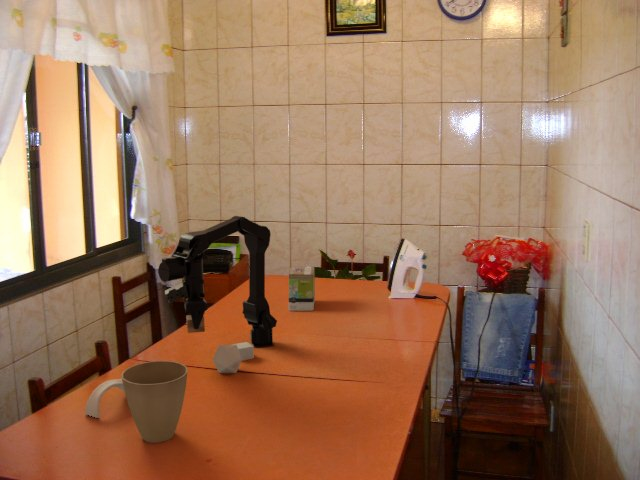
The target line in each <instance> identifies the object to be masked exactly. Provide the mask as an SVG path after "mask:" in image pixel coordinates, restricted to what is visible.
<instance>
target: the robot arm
mask: <svg viewBox="0 0 640 480" xmlns="http://www.w3.org/2000/svg"><path fill="white" fill-rule="evenodd" d="M237 232H238V233H239V234H240V235H242V236H243V239H244V245H245V246H246V248H247V251H248V252H249V254H248V256H249V260H248V261H249V262H248V263H249V265H248V266H249V268H248V269H249V275H248V278H249V279H248V281H249V283H248V284H249V285H248V286H249V287H248V288H249V291H248V293H249V295H248V298H247V300H246V301H245V300H244V301H243V302H242V314H243V317H244V319H245V320H246V321H247V324H248V325H249V326H251V329H250V331H249V332H250V344H251V345H252V346H253V347H254V348H260V347H270V346H271V347H272V346H274V342H273V329H274V328H275V327H277V322H278V320H277V319H276V318H275V317H274V316H273V315H272V314H271V310H270V305H269V302H268V300H267V298H266V296H265V292H266V290H265V287H266V286H265V284H266V282H265V281H266V275H265V274H266V273H265V272H266V255H265V254H266V252H267V249H268V248H269V246H270V243H271V242H270V241H271V236H272V235H271V230H270V228H269V227H268V226H265V225H260V224H258V223H256V222H254V221H252V220H250V219H248V218H247V217H245V216H239V215H234V216H231V218H229V219H226V220H225V221H222V222H220V223H218V224H214V225H213V226H210V227H208V228H206V229H204V230H197V231H189V232H185V233H183V234H181V235H180V237H179V240H178V243H177V245H176V246H175V249H174V250H173V251H172V252H173V253H172V254H171V256H170V257H162V258H161V263H160V264H159V265H158V268H157V273H158V276H159V279H160V280H161V281H162V282H163V283H167V282H172V281H177V280H182V283H180V284H177V285H174V286H171V287H170V288H168V289H166V290H164V295H165V297H166V300H167V301H168V302H167V303H169V304H172V303H174V302H175V301H177V300H180V299H181V298H183V303H184V309H185V312H186V313H189V315H191V317H192V321H193V325H194V329H198V328H199V326H200V323H201V320H202V318H203V316H204V315H205V312H206V311H207V310H208V302H207V299H205V288H204V287H205V286H204V284H205V279H204V264H203V261H206V260H209V258H210V257H209V256H208V255H207V254H206V253H205V251H207V250H209V248H210V246H211V245H212V244H214V243H215V242H218V241H220V240H222V239H224V238H226V237H228V236H230V235H233V234H235V233H237Z"/></svg>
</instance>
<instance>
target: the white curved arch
mask: <svg viewBox="0 0 640 480" xmlns="http://www.w3.org/2000/svg"><path fill="white" fill-rule="evenodd" d="M112 388H118V389H119V390H121V391H122V392H123V393H125V390H124V386H123V381H122V378H118V379H117V378H116V379H108V380H106V381H104V382H102V383H101V384H99V385H98V386H97V387H96V388H95V389H93V391H92V392H91V393H90V395H89V397H88V399H87V402H86V405H85V409H84V414H85V416H88V415H89V417H91V416H92V417H91V418H94V417H95V419H99V418H100V403H101V399H102V397H103V396H104V394H105V393H106V392H108V391H109V390H111V389H112Z"/></svg>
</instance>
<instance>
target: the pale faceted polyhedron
mask: <svg viewBox="0 0 640 480" xmlns="http://www.w3.org/2000/svg"><path fill="white" fill-rule="evenodd" d="M212 361H213V363H214V366H215V368H216V370H217V372H218V374H237V373H238V370H239V368H240V366H241V363H242V361H243V360H242V357H241V354H240V352H239V350H238V347H237V345H233V344H219V345H218V346H217V348H216V351H215V353H214V355H213V358H212Z"/></svg>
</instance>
